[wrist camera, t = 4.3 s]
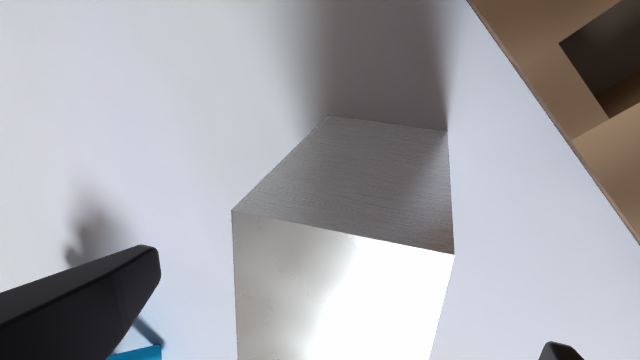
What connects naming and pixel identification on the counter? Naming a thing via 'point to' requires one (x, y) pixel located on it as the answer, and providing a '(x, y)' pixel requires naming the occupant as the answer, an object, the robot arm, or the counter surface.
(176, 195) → the counter surface
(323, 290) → the square bit
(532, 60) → the socket block
